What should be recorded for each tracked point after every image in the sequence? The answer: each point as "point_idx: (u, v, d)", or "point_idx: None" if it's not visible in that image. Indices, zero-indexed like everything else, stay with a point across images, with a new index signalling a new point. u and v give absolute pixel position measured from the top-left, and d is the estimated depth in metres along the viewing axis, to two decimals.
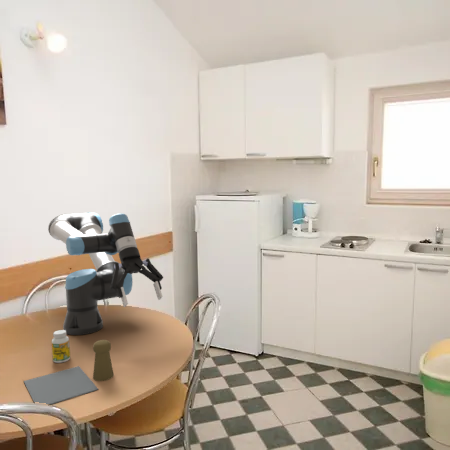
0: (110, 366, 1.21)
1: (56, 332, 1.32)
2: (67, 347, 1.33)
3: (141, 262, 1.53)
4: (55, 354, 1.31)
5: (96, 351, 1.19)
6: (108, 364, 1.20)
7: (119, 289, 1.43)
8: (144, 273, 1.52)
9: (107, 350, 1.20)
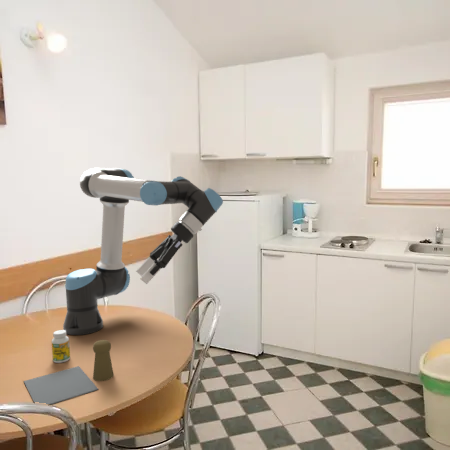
0: (110, 366, 1.21)
1: (56, 332, 1.32)
2: (67, 347, 1.33)
3: None
4: (55, 354, 1.31)
5: (96, 351, 1.19)
6: (108, 364, 1.20)
7: None
8: (162, 249, 1.36)
9: (107, 350, 1.20)
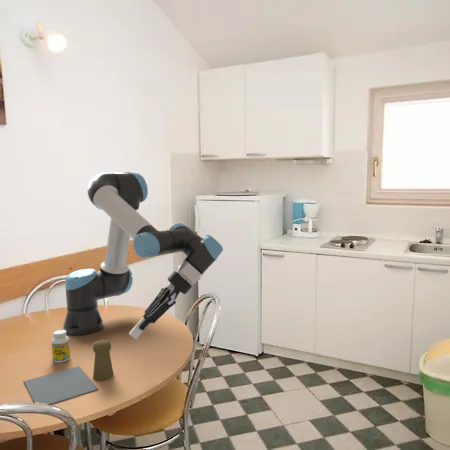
0: (110, 366, 1.21)
1: (56, 332, 1.32)
2: (67, 347, 1.33)
3: None
4: (55, 354, 1.31)
5: (96, 351, 1.19)
6: (108, 364, 1.20)
7: None
8: None
9: (107, 350, 1.20)
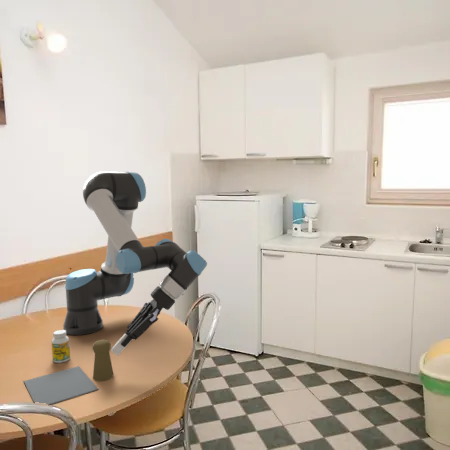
0: (110, 366, 1.21)
1: (56, 332, 1.32)
2: (67, 347, 1.33)
3: None
4: (55, 354, 1.31)
5: (96, 351, 1.19)
6: (108, 363, 1.20)
7: None
8: None
9: (107, 350, 1.20)
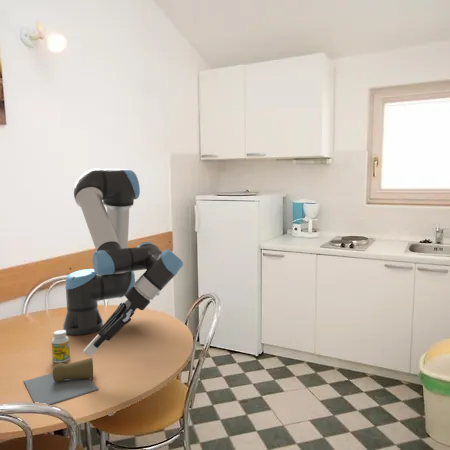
0: (79, 364, 1.18)
1: (56, 332, 1.32)
2: (67, 347, 1.33)
3: None
4: (55, 354, 1.31)
5: (60, 380, 1.17)
6: (76, 366, 1.18)
7: None
8: None
9: (60, 370, 1.16)
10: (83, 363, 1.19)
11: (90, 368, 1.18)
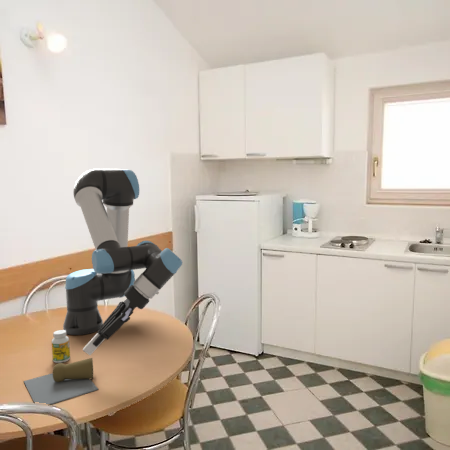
0: (79, 364, 1.18)
1: (56, 332, 1.32)
2: (67, 347, 1.33)
3: None
4: (55, 354, 1.31)
5: (60, 380, 1.17)
6: (76, 366, 1.18)
7: None
8: None
9: (60, 370, 1.16)
10: (83, 363, 1.19)
11: (90, 368, 1.18)
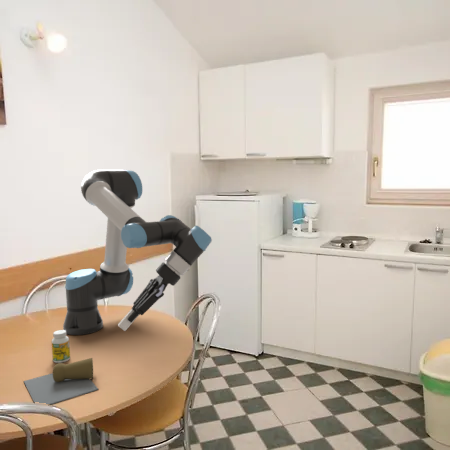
0: (79, 364, 1.18)
1: (56, 332, 1.32)
2: (67, 347, 1.33)
3: None
4: (55, 354, 1.31)
5: (60, 380, 1.17)
6: (76, 366, 1.18)
7: None
8: None
9: (60, 370, 1.16)
10: (83, 363, 1.19)
11: (90, 368, 1.18)
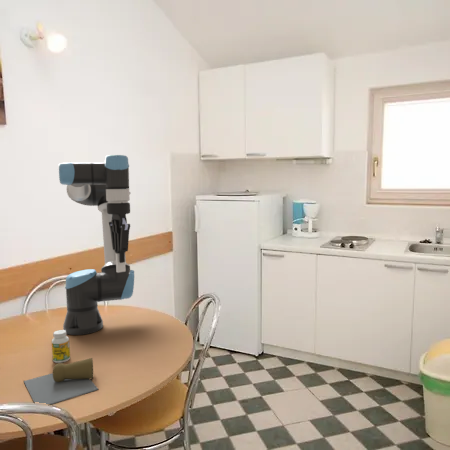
0: (79, 364, 1.18)
1: (56, 332, 1.32)
2: (67, 347, 1.33)
3: None
4: (55, 354, 1.31)
5: (60, 380, 1.17)
6: (76, 366, 1.18)
7: None
8: None
9: (60, 370, 1.16)
10: (83, 363, 1.19)
11: (90, 368, 1.18)
